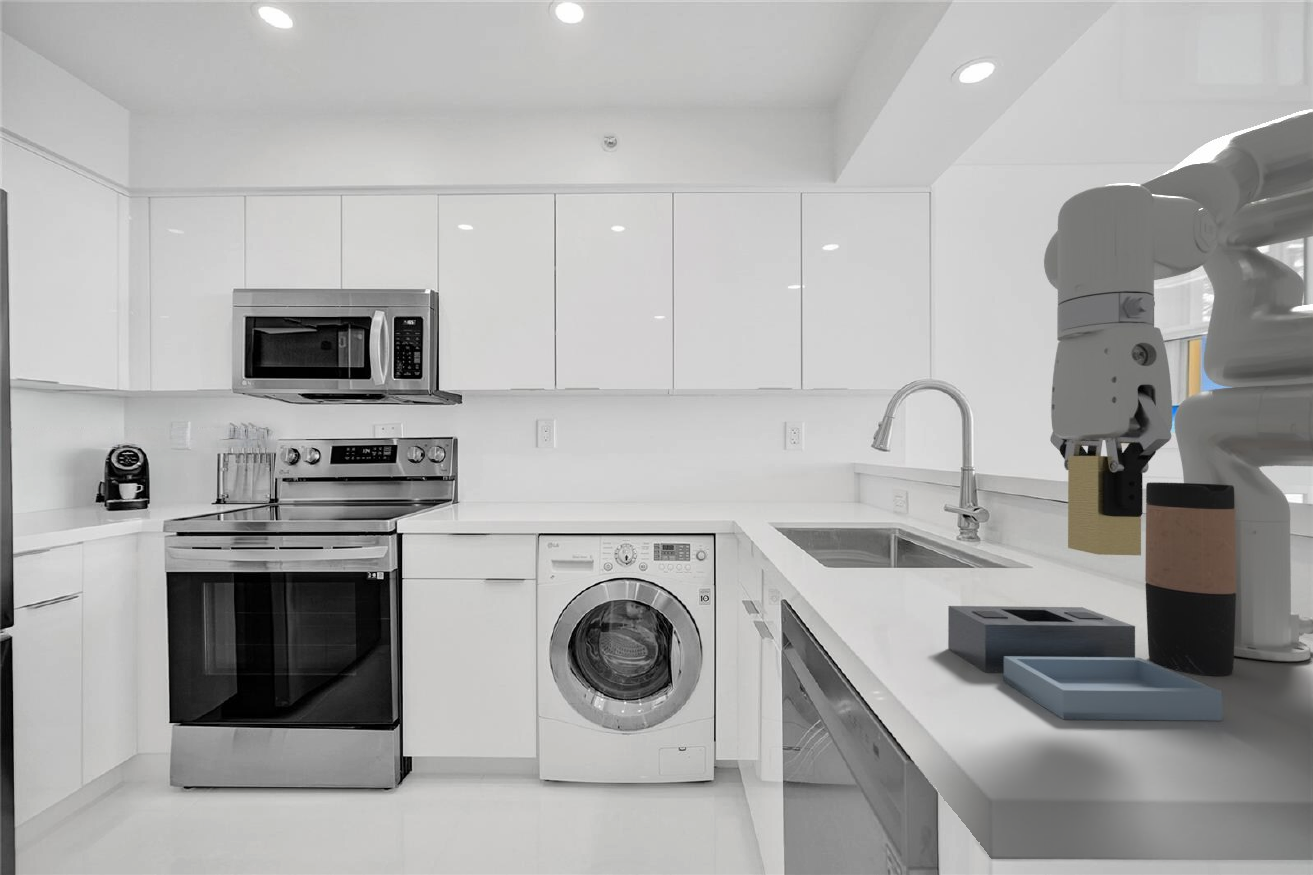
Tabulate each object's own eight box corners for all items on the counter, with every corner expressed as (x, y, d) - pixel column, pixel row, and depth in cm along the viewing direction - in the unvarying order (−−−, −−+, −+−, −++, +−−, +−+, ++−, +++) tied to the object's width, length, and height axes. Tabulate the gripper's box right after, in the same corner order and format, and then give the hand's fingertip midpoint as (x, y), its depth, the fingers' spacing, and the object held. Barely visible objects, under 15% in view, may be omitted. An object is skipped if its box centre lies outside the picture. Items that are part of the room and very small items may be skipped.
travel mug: (1151, 649, 74) (1150, 481, 75) (1238, 665, 69) (1237, 484, 69) (1140, 664, 69) (1139, 483, 70) (1234, 683, 64) (1233, 486, 64)
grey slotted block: (1082, 649, 74) (1082, 606, 74) (1135, 673, 66) (1135, 625, 66) (948, 648, 74) (948, 605, 74) (985, 672, 66) (985, 623, 66)
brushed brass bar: (1108, 548, 61) (1108, 456, 61) (1140, 555, 57) (1141, 456, 57) (1068, 548, 61) (1068, 455, 61) (1097, 554, 57) (1098, 456, 57)
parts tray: (1139, 682, 63) (1139, 657, 63) (1222, 720, 54) (1221, 691, 54) (1003, 681, 63) (1003, 656, 63) (1063, 719, 54) (1063, 690, 54)
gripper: (1223, 301, 51) (1224, 524, 51) (1081, 338, 68) (1081, 507, 67) (1134, 298, 51) (1133, 523, 51) (1013, 337, 68) (1012, 505, 67)
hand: (1103, 511), depth 59 cm, fingers closed on brushed brass bar, 4 cm apart
